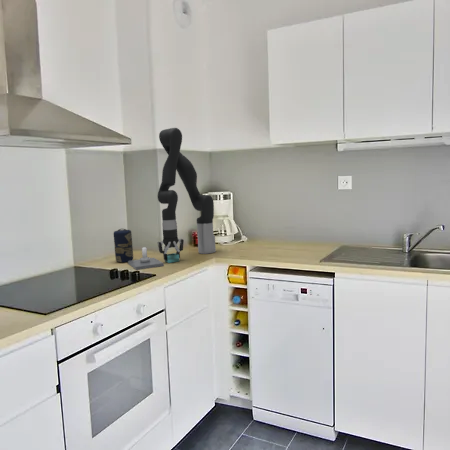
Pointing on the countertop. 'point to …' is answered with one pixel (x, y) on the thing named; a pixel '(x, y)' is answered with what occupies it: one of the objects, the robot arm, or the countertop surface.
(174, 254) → the collar
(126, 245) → the canister
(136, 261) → the shaft stand
